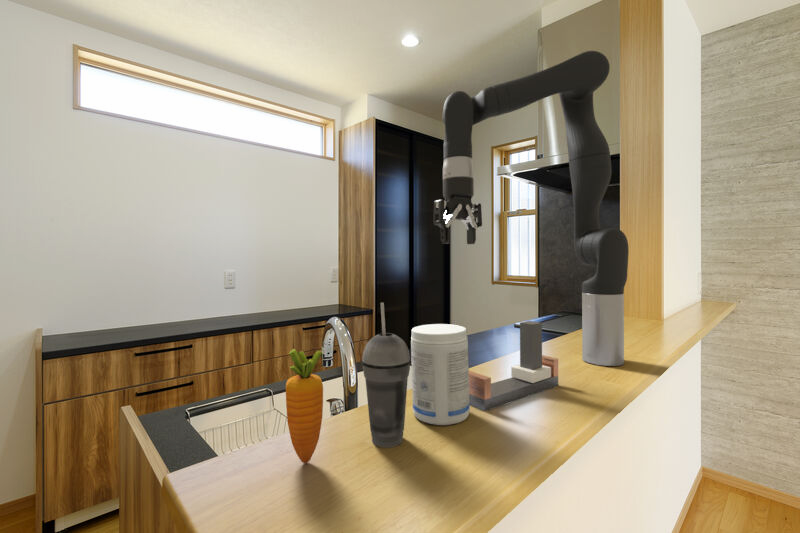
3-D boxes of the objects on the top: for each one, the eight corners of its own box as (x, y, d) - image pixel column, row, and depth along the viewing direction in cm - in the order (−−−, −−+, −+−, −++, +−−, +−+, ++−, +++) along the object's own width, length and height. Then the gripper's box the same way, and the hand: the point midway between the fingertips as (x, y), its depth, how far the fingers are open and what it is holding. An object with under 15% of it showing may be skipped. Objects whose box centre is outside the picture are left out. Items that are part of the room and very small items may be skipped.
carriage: (529, 371, 79) (529, 319, 79) (551, 377, 75) (550, 322, 75) (511, 376, 76) (511, 322, 76) (532, 383, 72) (532, 326, 72)
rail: (537, 379, 81) (536, 354, 81) (558, 385, 77) (558, 358, 77) (464, 402, 68) (463, 372, 68) (484, 411, 64) (484, 379, 64)
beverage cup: (374, 457, 50) (372, 307, 49) (355, 435, 56) (353, 302, 56) (421, 444, 53) (419, 303, 53) (398, 424, 59) (396, 299, 59)
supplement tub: (463, 403, 68) (462, 322, 68) (475, 426, 58) (474, 333, 58) (410, 404, 68) (409, 323, 67) (413, 428, 58) (412, 334, 58)
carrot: (329, 454, 51) (328, 344, 50) (318, 475, 46) (316, 353, 45) (294, 452, 51) (292, 343, 51) (279, 473, 46) (276, 352, 46)
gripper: (446, 171, 85) (447, 242, 86) (489, 178, 93) (490, 243, 94) (426, 178, 91) (426, 244, 92) (467, 184, 100) (468, 244, 100)
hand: (458, 243), depth 93 cm, fingers open, 8 cm apart
